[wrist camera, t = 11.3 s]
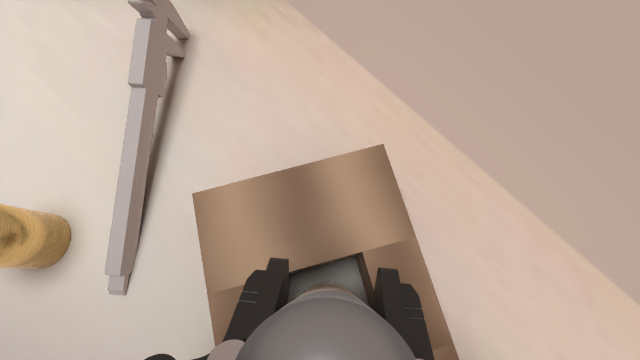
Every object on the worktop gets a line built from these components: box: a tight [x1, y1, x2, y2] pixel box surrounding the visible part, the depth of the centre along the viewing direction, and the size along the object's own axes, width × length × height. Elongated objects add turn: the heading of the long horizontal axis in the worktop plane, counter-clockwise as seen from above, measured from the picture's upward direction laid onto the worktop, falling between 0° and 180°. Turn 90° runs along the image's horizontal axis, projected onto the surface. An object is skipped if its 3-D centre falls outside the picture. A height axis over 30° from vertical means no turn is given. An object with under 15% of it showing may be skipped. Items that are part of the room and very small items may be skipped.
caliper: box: [105, 0, 189, 295], centre depth 20 cm, size 20×1×6 cm, turn 175°
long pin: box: [235, 282, 416, 360], centre depth 12 cm, size 4×4×13 cm
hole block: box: [192, 144, 459, 360], centre depth 17 cm, size 11×16×4 cm
